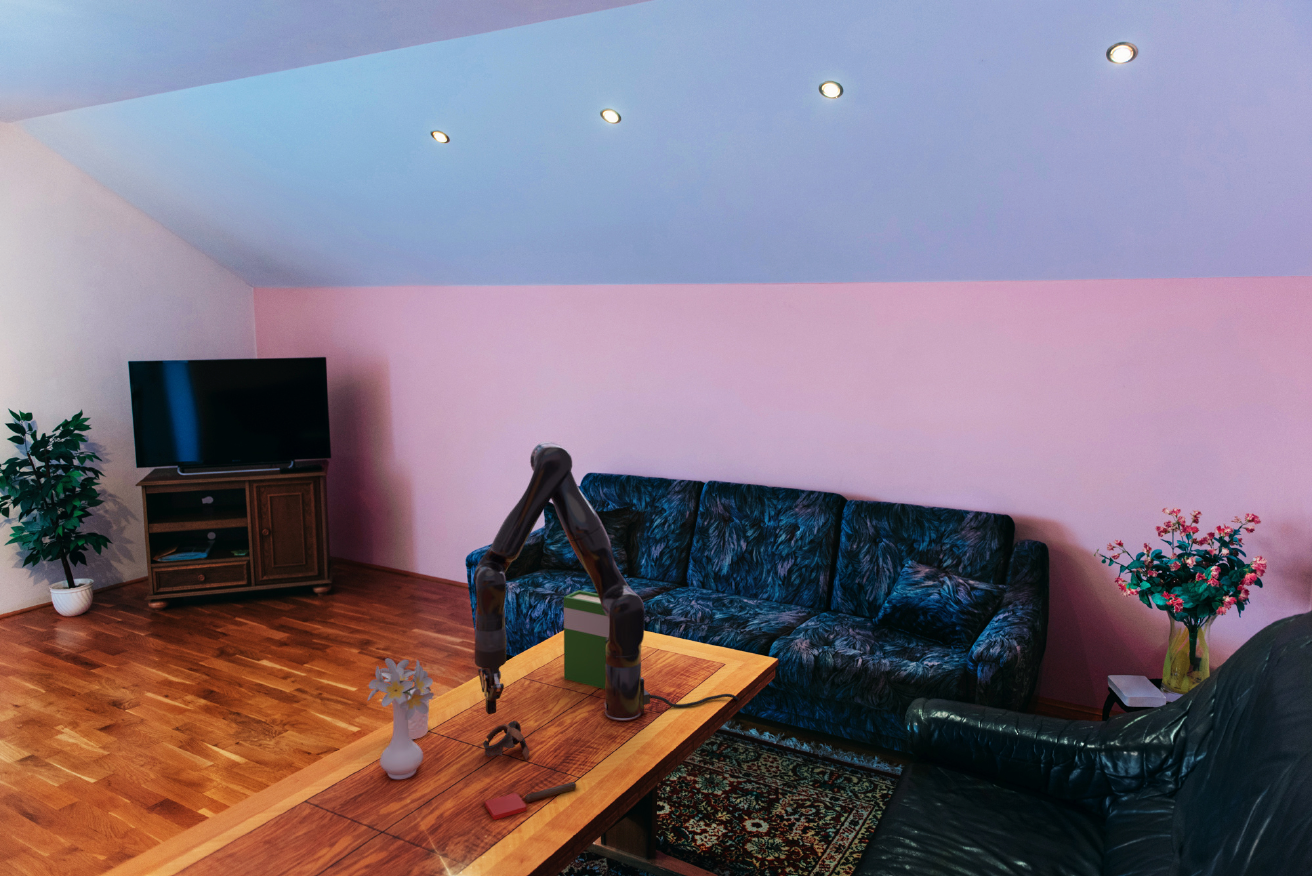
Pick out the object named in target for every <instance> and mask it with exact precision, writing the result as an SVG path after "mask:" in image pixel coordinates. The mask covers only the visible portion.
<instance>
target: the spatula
mask: <svg viewBox="0 0 1312 876" xmlns="http://www.w3.org/2000/svg"><path fill="white" fill-rule="evenodd" d="M576 788H577V784H576V783H575V782H574V781H569V782H567V783H563V784H560V785H556V786H553V787H549V788H544V789H541V790H537V791H534V792H531V793H527V794H526V795H525V796H524V801H525V802H524V801H523V799H522V798H521V797H520V795H519V794H518V793H517V792H514V793H510V794H507V795H506V794H505V795H503V796H498V797H495V798H492V799H488V800H485V801H484V807H485V808H486V810H487V811H488V813H489V814H490V816H491V818H492V820H493V821H495V820H499V819H503V818H506V817H509V816H510V817H511V816H513V815H517V814H520V813H524V812H527V811H528V808H527V805H526V803H531V802H536V801H539V800H542V799H543V800H544V799H545V798H549V797H553V796H557V795H560V794H563V793H568V792H571V791H574V790H576Z"/></svg>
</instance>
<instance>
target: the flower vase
mask: <svg viewBox="0 0 1312 876" xmlns="http://www.w3.org/2000/svg"><path fill="white" fill-rule="evenodd" d="M415 662H416V663H415V667H414V670H411V669H407V667H408V666H409V663H410V660H409V659H402V660H401V661H399V662H398V663H397V665H396V662H395V661H394V660H393V659H391V658H390V657H387V658H385V659H384V663H385V665H386V667H387V668H386V667H383V668H380V667H379V666H378V665H376V668H375V679H372V680H371V681H370V682H369V683H368V689H370V690H371V692H370V693H369V695H368V697H367V702H368V701H370V700H371V699H372V698H373V697H374V696H375V695H376V694H377V693H378V692H381V693H384V694H385V695H384V696H383V697H382V699H381V706H382V707H383V708H385V707H388V706H389V705H392V715H393V718H392V719H393V720H392V721H393V723H392V727H393V728H392V736H391V739H390V742H389V743H388V745H387V746H386V747H385V748H384V750H382V752H381V754H380V758H379V765H380V768H381V769H382V770H383V771H384V772H385V773H387V777H389V778H390V779H392V780H405V779H409V778H411V777H413V776H414V775H415V774H416V773H417V769H418V768H419V767H420V766H421V764H422V763H423V762H424V752H423V750H422V748H421V746H420V745H419V744H417V743H416V742H415V741H414V739H412V738H411V736H410V734H409V729H408V720H409V719H410V718H411V717H412V716H413V715H414V712H415V708H416V710H417V711H418V712H420V713H422V714H426V713H427V712H428V707H427V705H426V704H425V703H424V702H423V701H427V700H429V701H430V700H433V697H434V696H435V693H434V692H431V691H432V689H431V686H432V685H433V683H434V682H433V681H434V680H433V678H431V677H429V673H428V671H426V670H424V668H423V666H421V664H420V661H419V660H418V659H416V661H415ZM410 677H412V679H411V680H409V679H410ZM384 678H385V679H384ZM413 689H416V690H415V691H414V692H413V694H411V693H410V690H413ZM409 696H410V698H409V699H408V697H409ZM407 707H408V709H407Z"/></svg>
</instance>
